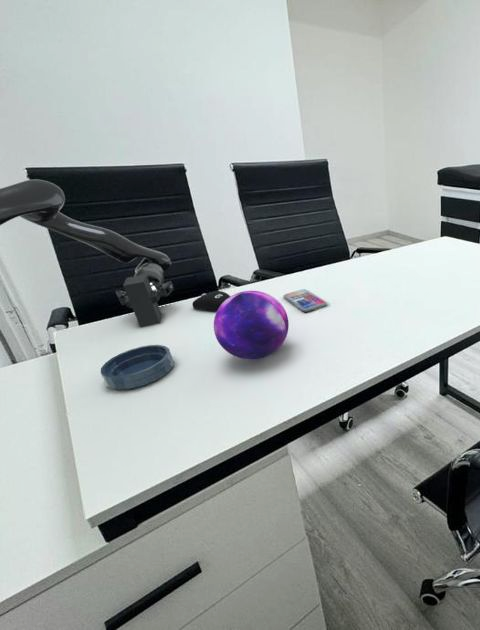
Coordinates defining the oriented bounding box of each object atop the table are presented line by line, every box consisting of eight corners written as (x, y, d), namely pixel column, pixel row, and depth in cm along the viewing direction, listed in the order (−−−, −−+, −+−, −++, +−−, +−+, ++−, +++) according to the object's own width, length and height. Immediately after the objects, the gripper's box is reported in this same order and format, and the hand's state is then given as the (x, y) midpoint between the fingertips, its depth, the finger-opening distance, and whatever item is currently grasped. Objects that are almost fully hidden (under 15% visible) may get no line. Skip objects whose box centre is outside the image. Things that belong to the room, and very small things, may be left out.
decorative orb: (242, 338, 95) (225, 281, 88) (302, 336, 94) (290, 279, 87) (211, 374, 81) (189, 310, 75) (281, 372, 81) (265, 307, 74)
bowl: (97, 397, 76) (89, 382, 74) (120, 364, 86) (114, 351, 85) (166, 383, 79) (160, 369, 77) (180, 353, 89) (175, 340, 88)
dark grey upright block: (140, 327, 102) (122, 285, 97) (143, 317, 108) (126, 277, 102) (159, 323, 104) (143, 281, 99) (161, 313, 109) (146, 274, 104)
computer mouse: (221, 314, 107) (217, 301, 106) (190, 309, 111) (185, 296, 110) (241, 303, 114) (238, 291, 112) (210, 299, 118) (206, 287, 116)
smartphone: (304, 288, 120) (328, 302, 109) (305, 291, 120) (328, 305, 110) (281, 294, 115) (303, 310, 105) (282, 297, 116) (304, 313, 105)
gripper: (114, 275, 110) (102, 295, 96) (171, 265, 116) (168, 283, 102) (124, 299, 113) (114, 322, 100) (179, 288, 119) (177, 309, 105)
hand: (141, 302), depth 101 cm, fingers closed on dark grey upright block, 4 cm apart
